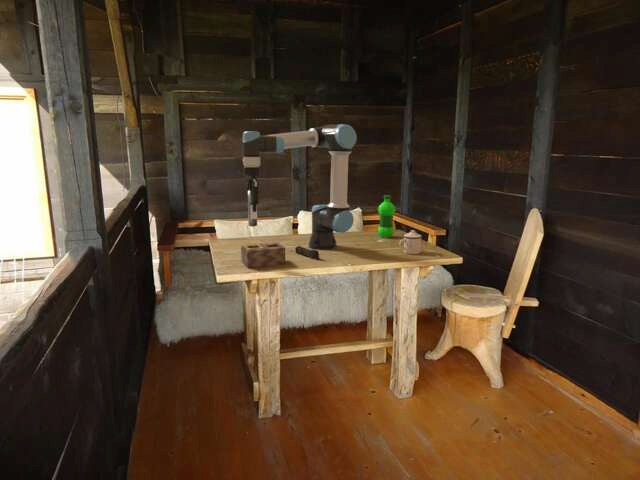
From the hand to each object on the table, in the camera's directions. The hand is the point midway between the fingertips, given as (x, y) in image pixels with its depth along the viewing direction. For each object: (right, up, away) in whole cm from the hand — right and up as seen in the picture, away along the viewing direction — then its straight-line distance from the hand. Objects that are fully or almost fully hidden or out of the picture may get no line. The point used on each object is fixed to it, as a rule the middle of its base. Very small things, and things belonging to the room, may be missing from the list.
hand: (252, 217), depth 220 cm
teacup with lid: (+77, -17, +30) cm, 85 cm away
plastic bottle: (+70, -9, +69) cm, 99 cm away
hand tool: (+25, -19, +21) cm, 38 cm away
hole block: (+4, -21, +6) cm, 22 cm away
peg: (0, -4, +1) cm, 4 cm away
